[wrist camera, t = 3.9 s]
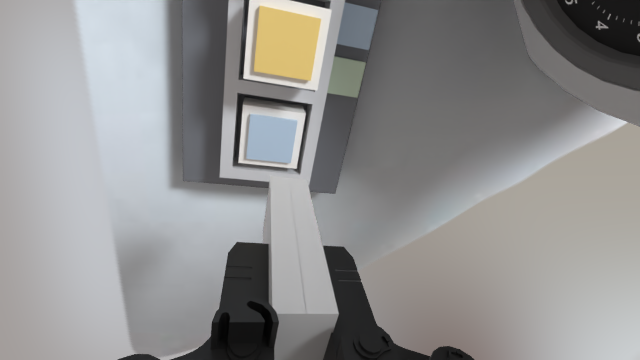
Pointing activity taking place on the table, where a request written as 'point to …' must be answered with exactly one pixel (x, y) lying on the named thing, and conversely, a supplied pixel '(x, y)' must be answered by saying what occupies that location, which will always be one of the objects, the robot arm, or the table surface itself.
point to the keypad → (267, 93)
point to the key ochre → (285, 42)
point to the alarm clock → (587, 50)
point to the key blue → (271, 133)
